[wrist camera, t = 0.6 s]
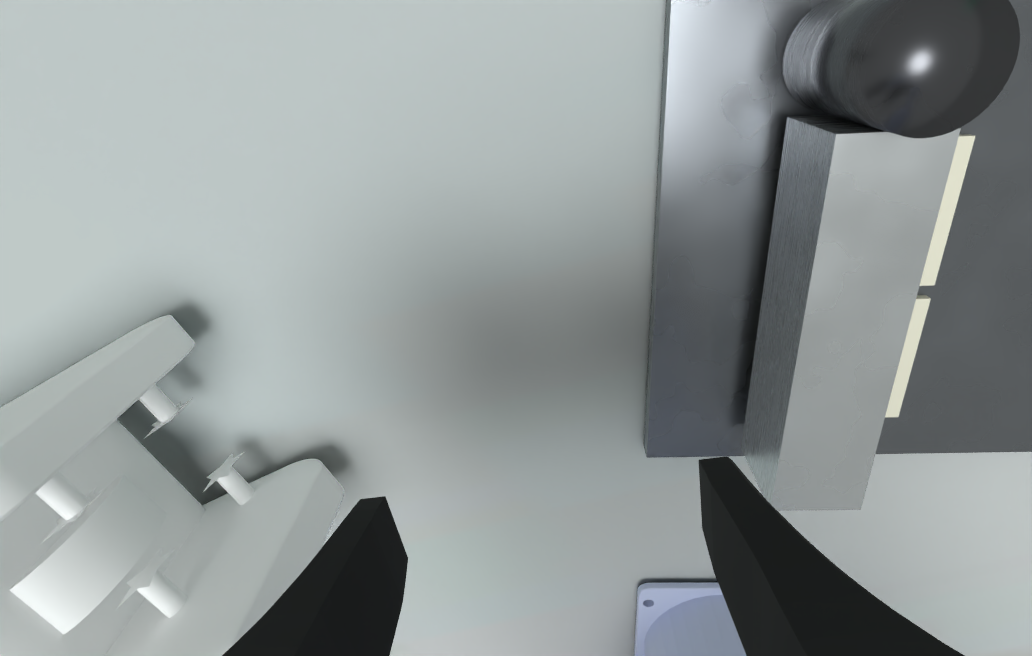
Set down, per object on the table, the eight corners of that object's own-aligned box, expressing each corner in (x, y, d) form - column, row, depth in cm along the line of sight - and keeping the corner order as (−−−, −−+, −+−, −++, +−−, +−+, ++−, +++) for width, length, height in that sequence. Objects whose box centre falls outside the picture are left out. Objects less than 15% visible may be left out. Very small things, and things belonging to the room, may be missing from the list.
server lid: (1036, 439, 25) (1051, 451, 24) (644, 445, 26) (646, 457, 25) (1232, -45, 17) (1262, -48, 16) (666, -9, 18) (672, -11, 17)
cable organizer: (209, 280, 23) (-64, 483, 13) (367, 472, 27) (256, 748, 17) (-40, 427, 27) (-408, 676, 17) (130, 577, 31) (-81, 856, 20)
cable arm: (791, -3, 17) (881, -15, 13) (905, -10, 17) (1040, -25, 12) (733, 437, 24) (778, 534, 20) (814, 436, 24) (880, 533, 19)
